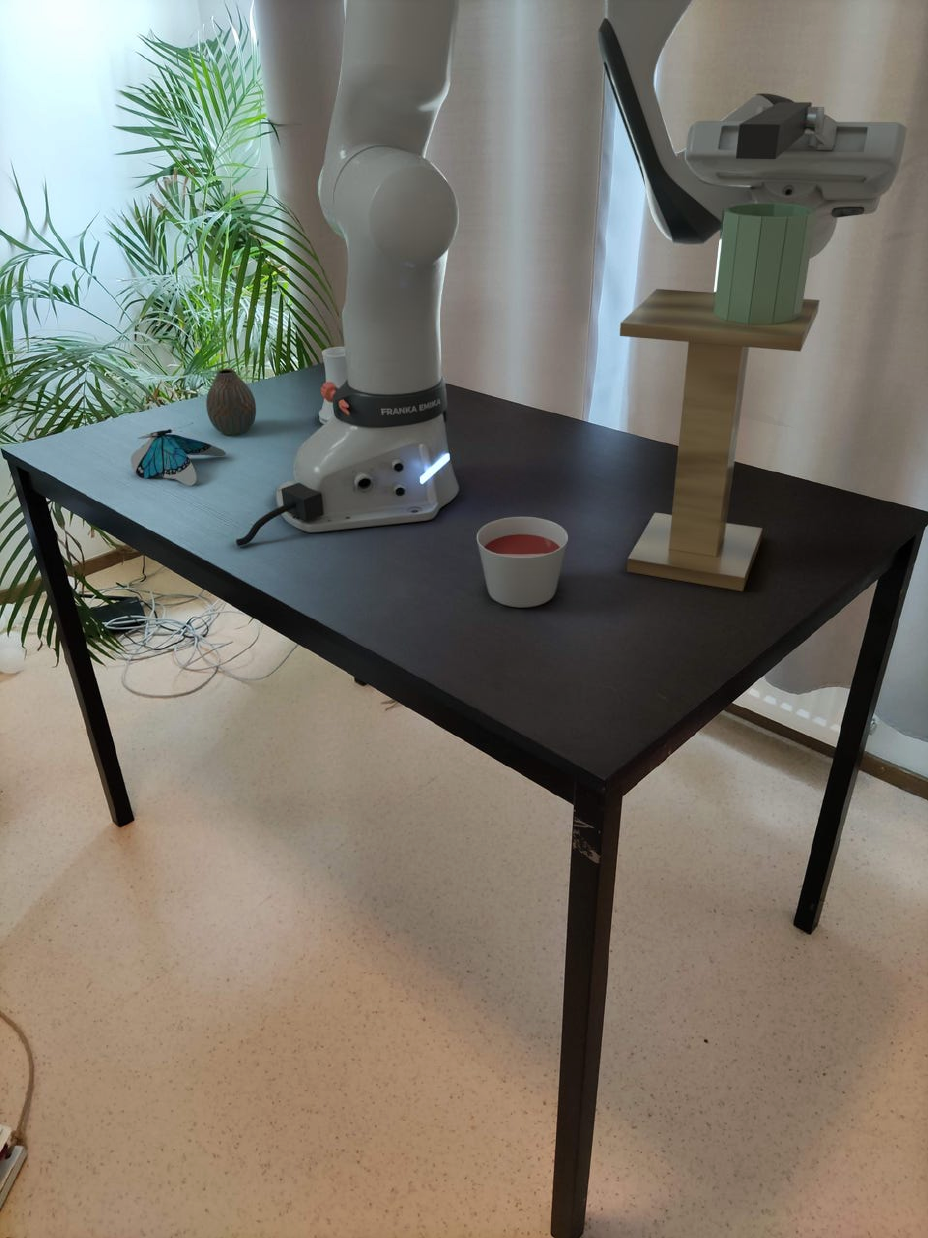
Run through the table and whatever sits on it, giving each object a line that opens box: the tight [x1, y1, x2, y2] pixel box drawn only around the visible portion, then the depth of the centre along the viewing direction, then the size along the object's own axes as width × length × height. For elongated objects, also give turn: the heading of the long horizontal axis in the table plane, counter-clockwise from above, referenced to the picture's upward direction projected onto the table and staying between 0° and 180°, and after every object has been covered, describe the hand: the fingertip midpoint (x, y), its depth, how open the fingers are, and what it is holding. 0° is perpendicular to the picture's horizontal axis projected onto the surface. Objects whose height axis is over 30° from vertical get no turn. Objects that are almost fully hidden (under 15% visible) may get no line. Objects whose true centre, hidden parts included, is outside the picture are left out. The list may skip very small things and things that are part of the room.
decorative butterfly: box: [130, 422, 227, 487], centre depth 129 cm, size 10×6×10 cm
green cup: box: [712, 203, 817, 324], centre depth 88 cm, size 8×8×9 cm
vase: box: [205, 368, 257, 436], centre depth 139 cm, size 7×7×9 cm
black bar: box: [736, 101, 813, 159], centre depth 83 cm, size 22×3×2 cm, turn 157°
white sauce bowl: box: [476, 516, 569, 609], centre depth 98 cm, size 9×9×6 cm
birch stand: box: [619, 288, 821, 592], centre depth 98 cm, size 14×16×26 cm
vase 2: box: [318, 346, 347, 425], centre depth 142 cm, size 8×8×10 cm
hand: (789, 114), depth 88 cm, fingers closed on black bar, 3 cm apart
